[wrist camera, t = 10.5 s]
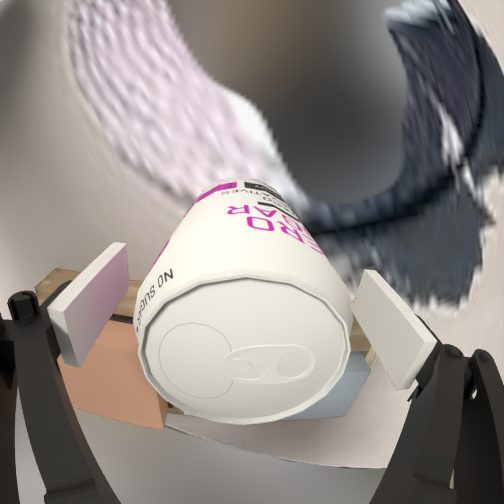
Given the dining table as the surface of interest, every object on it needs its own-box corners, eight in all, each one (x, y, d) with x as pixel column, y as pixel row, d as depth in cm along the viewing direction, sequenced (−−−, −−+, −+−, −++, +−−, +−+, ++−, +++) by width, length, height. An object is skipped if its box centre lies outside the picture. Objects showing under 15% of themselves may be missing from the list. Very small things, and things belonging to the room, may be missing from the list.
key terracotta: (56, 297, 21) (31, 325, 17) (163, 317, 22) (151, 353, 18) (80, 377, 25) (66, 405, 21) (170, 396, 26) (163, 430, 22)
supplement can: (192, 273, 24) (151, 426, 10) (186, 176, 20) (94, 251, 7) (287, 273, 24) (337, 423, 10) (293, 176, 21) (393, 250, 7)
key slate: (287, 339, 25) (295, 373, 21) (354, 339, 25) (370, 371, 21) (273, 386, 27) (278, 419, 23) (333, 385, 28) (344, 415, 24)
